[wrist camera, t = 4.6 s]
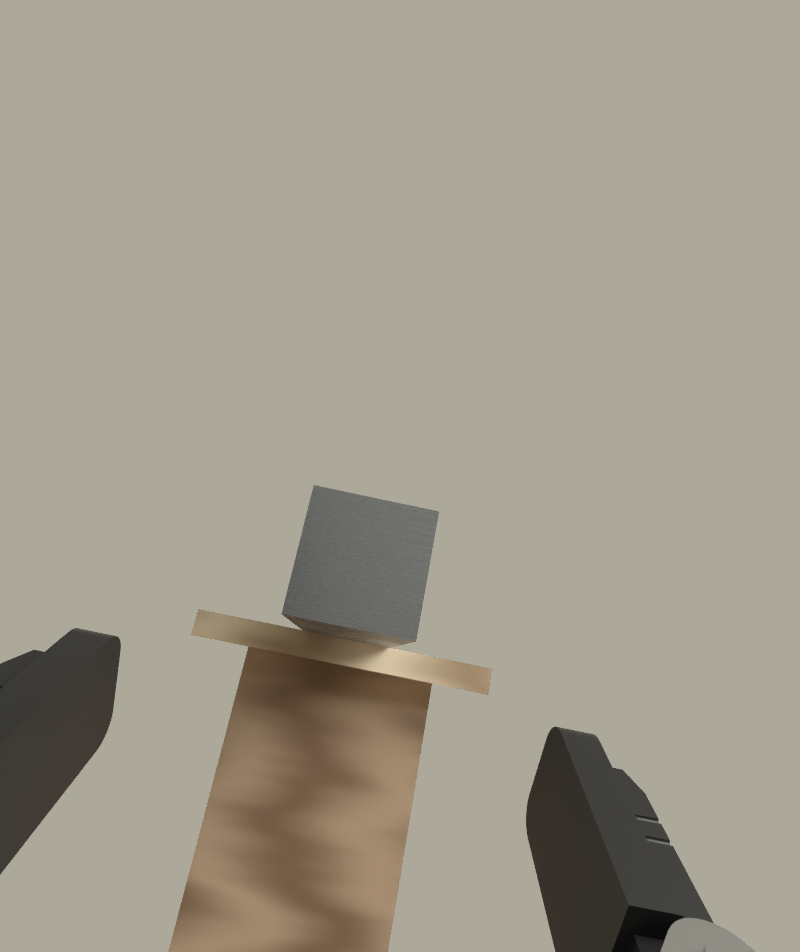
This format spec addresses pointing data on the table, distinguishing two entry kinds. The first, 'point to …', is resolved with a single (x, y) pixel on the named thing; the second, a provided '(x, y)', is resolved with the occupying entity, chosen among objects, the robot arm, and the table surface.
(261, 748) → the walnut stand
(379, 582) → the steel block
